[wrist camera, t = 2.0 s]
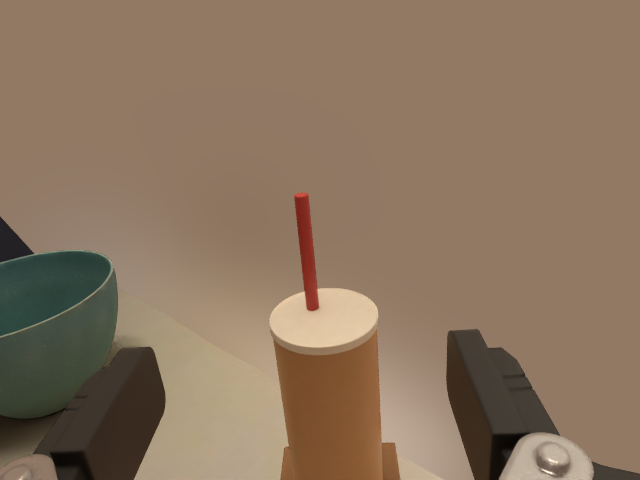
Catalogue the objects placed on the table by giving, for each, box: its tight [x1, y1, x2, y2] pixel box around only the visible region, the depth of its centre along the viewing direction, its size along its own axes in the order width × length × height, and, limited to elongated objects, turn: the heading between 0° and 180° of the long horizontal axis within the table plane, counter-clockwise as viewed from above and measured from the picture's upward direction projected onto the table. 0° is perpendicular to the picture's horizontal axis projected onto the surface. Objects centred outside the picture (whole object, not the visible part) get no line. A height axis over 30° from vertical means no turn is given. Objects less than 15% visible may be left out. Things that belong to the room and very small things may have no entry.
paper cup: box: [269, 193, 383, 480], centre depth 26 cm, size 6×6×20 cm
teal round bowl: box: [0, 250, 118, 419], centre depth 47 cm, size 18×18×12 cm
